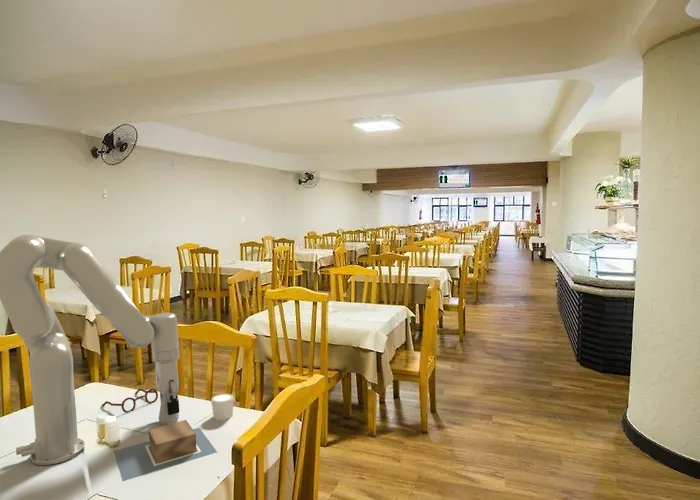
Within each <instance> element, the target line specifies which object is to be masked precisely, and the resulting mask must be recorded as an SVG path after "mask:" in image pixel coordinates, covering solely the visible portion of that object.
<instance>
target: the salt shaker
mask: <svg viewBox="0 0 700 500" xmlns="http://www.w3.org/2000/svg"><path fill="white" fill-rule="evenodd" d="M170 391H171V390H170ZM168 392H169V391H168ZM171 395H172V394H170V396H171ZM167 402H168V398H167V394H165V395H162V399H160V406H159V407H160V408H159V413H158V414H159V415H158V421H159V423H160V424H161V426H164V425H168V424H172V423H176V422H179V417H180V412H179V413H176V414H172V415H168V409H167Z"/></svg>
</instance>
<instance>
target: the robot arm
mask: <svg viewBox="0 0 700 500" xmlns="http://www.w3.org/2000/svg"><path fill="white" fill-rule="evenodd" d="M36 268H43V269H48V270H57V271H62V272H64V274H65V276H67V277H68V278H69V279H70V280H71V281H72V283H73V284H74V285H75V286H76V287H77V288H78V289H79V290H80V291H81V292H82V294H83V295H84V296H85V297H86V298H87V300H88V301H89V302H90V304H92V305H93V306H94V307H95V308H94V309H96V310H97V311H99V312H100V314H102V315H103V316H104V317H105V318H106V320H107V321H108V322H109V323H110V325H112V327H113V328H114V329H115V330H116V331H117V332H118V333H119V335H121V337H122V338H123V340H125V342H127V344H128V345H130V346H131V347H133V348H138V349H141V348H144V347H147V346H148V345H150V344H151V350H152V351H151V353H152V362H154V363H155V386H156V390H157V391H158V392H159V394H160V395H159V396H160V397H159V398H160V400H161V399H162V395H165V394H167V398H168V402H167V409H168V415H172V414H176V413H179V414H180V401H179V396H178V392H179V389H180V385H179V384H180V383H179V374H178V371H179V370H178V361H177V360H179V358H180V347H179V346H180V345H179V333H178V317H177V316H176V313H175V314H174V313H172V312H161V313H156V314H154V315H143V313H142V312H141V311H140V310H139V309H138V307H136V305H135V304H134V303H133V301H132V300H131V299H130V297H129V296H128V294H126V292H125V290H124V289H123V288H122V286H121V285H120V283H119V282H118V281H117V280H116V279H115V277H113V275H112V274H111V273H110V271H109V270H108V269H107V268H106V267H105V266H104V265H103V263H102V262H101V261H100V259H99V258H97V255H95V254H94V253H93V251H92V250H91V249H89V247H87V246H86V245H84V244H82V243H78V242H73V241H65V240H59V239H53V238H48V237H43V236H40V235H39V236H38V235H32V234H21V235H19V236H16V237H15V238H13V239H12V240H11V241H9V242H8V243H7V245H5V246H4V247H3V248H2V249H1V251H0V302H1V304H2V307H3V309H4V311H5V313H6V315H7V317H8V319H9V321H10V323H11V326H12V330H13V331H14V333H15V334H16V335H17V336H19V337H20V338H22V341H23V342H24V344H25V346H26V348H27V351H28V352H29V364H28V365H29V373H30V375H29V376H30V383H31V393H32V395H31V396H32V403H33V416H34V430H35V438H34V442H30V444H28V445H22V446H18V447H17V446H16V448H15V453H16V456H19V455H21V458H23V457H27V456H29V457H30V459H29V460H30V462H31V463H32V464H34V465H38V466H48V465H49V466H51V465H55V464H60V463H63V462H66V461H68V460H70V459H73V458H75V457H77V456H78V455H80V454H81V453H82V452H83V451H84V450H85V446H86V445H85V440H83V439H81V438H79V436H78V423H77V408H76V407H77V406H76V394H75V393H76V392H75V381H74V380H75V379H74V356H73V352H72V351H73V350H72V348H71V344H70V340H69V339H68V337H67V335H66V333H65V331H64V328H63V327H62V325H61V322H60V320H59V318H58V317H57V314H56V313H55V310H54V308H53V307H52V305H51V304H50V303H48V302H47V301H45V299H44V297H43V295H42V293H41V291H40V288H39V286H38V284H37V282H36V280H35V278H34V271H35V269H36ZM170 390H171V391H170ZM168 391H169V392H168ZM170 394H172V395H171V396H170Z"/></svg>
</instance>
